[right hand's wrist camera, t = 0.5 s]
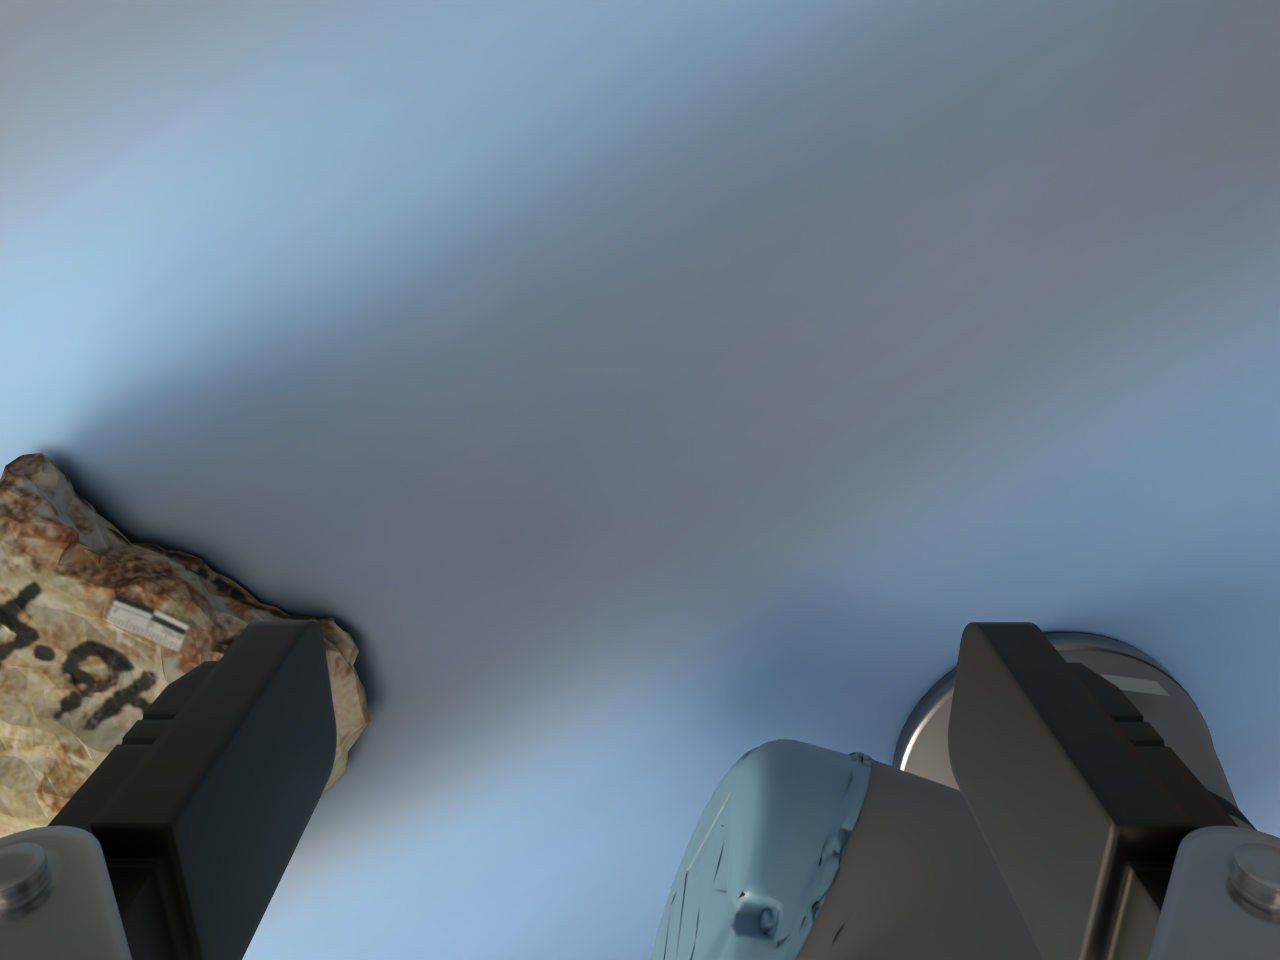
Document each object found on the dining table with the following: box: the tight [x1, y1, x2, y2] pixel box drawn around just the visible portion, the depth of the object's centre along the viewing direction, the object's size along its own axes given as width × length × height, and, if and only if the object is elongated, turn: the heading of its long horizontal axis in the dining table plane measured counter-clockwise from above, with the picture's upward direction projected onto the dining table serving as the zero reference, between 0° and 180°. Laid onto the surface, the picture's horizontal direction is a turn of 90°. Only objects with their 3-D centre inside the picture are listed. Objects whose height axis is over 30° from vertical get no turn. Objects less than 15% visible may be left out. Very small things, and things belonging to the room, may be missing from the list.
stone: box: [0, 453, 371, 838], centre depth 43 cm, size 19×6×25 cm
